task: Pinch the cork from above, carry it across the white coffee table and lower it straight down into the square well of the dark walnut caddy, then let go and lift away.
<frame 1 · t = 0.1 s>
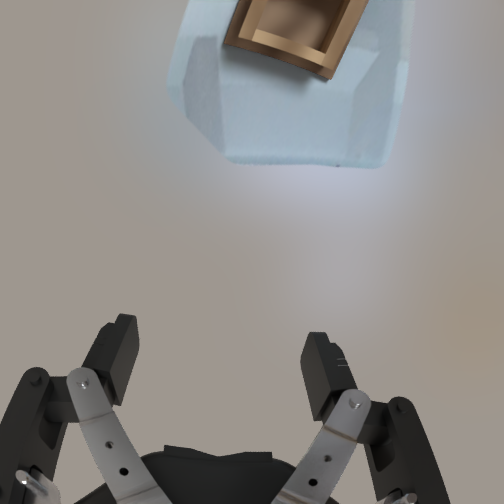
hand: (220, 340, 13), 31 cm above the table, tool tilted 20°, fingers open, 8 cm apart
shaker caddy: (298, 12, 24), on the table
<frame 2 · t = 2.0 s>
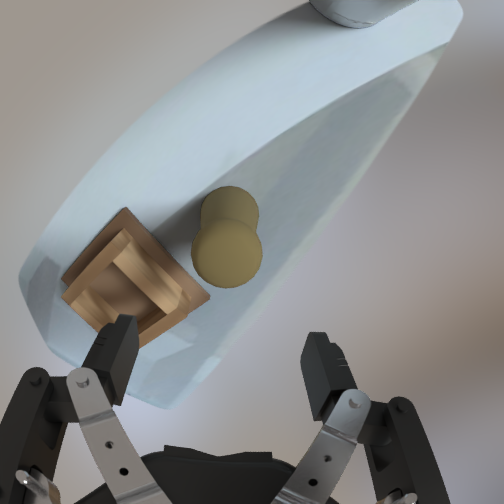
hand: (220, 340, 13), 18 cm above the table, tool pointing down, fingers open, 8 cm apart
shaker caddy: (130, 285, 32), on the table
cork: (229, 214, 30), on the table
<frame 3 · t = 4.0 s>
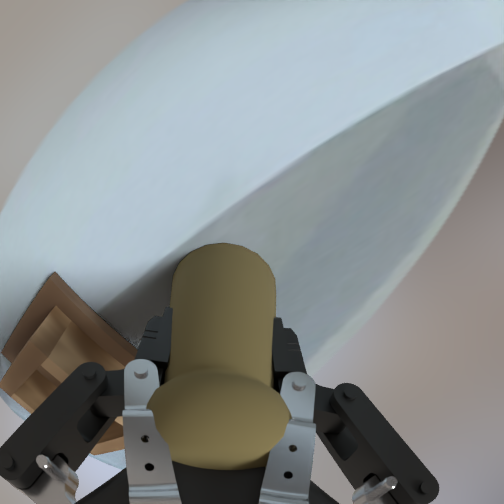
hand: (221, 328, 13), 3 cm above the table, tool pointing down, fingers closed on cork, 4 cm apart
shaker caddy: (84, 374, 19), on the table
cork: (223, 289, 17), on the table, touching gripper
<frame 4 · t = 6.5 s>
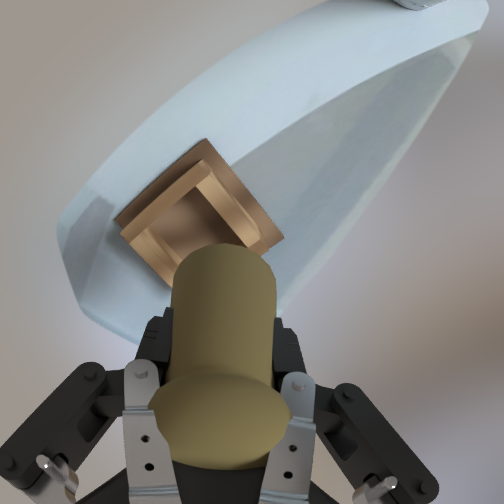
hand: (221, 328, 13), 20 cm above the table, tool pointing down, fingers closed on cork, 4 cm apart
shaker caddy: (197, 225, 32), on the table
cork: (224, 290, 17), point 17 cm above the table, touching gripper
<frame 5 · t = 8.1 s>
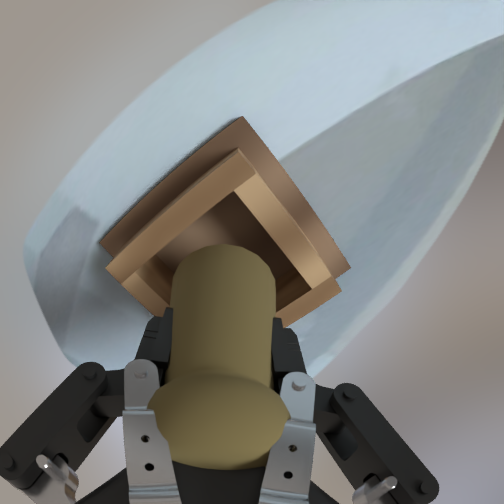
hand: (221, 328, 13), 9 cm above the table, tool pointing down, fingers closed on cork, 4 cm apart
shaker caddy: (225, 251, 22), on the table
cork: (223, 290, 17), point 6 cm above the table, touching gripper
when the fingers open (5 cm above the table, at t = 9.2 s): cork drops 1 cm, resting on shaker caddy.
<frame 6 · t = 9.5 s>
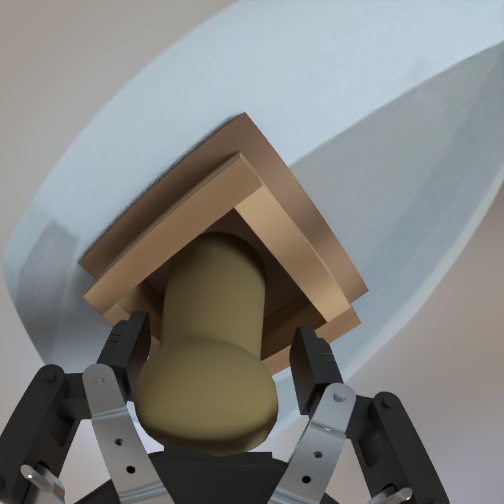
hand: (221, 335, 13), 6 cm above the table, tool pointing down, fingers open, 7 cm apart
shaker caddy: (224, 273, 18), on the table
cork: (217, 276, 18), point 1 cm above the table, touching shaker caddy
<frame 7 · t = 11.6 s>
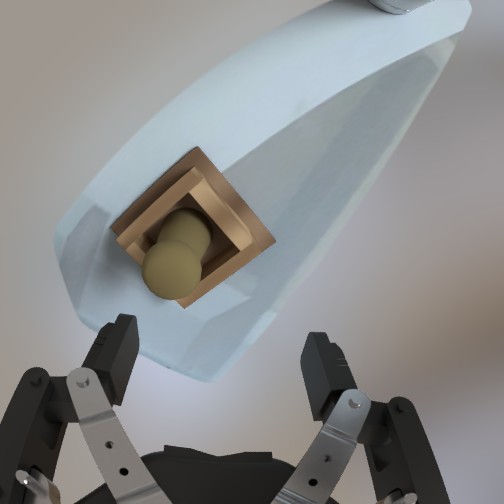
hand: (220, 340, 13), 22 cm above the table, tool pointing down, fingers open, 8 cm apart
shaker caddy: (191, 231, 33), on the table
cork: (186, 232, 32), point 1 cm above the table, touching shaker caddy
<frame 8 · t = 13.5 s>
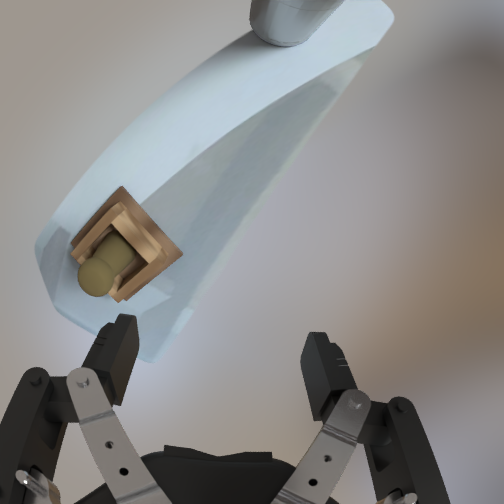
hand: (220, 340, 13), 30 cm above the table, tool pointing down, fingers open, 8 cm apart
shaker caddy: (123, 246, 43), on the table
cork: (119, 247, 42), point 1 cm above the table, touching shaker caddy
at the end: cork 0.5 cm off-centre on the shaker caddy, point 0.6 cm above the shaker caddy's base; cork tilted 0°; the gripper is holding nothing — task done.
